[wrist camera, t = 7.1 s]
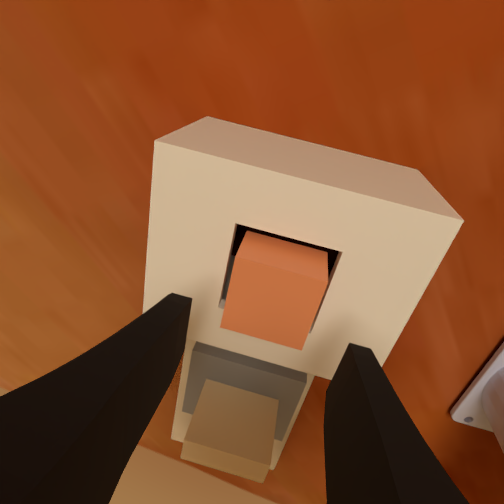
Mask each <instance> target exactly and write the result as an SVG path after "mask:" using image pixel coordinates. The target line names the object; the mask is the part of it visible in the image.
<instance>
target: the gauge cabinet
mask: <svg viewBox="0 0 504 504" xmlns="http://www.w3.org/2000/svg"><path fill="white" fill-rule="evenodd" d="M463 222H464V220H463V219H462V218H461V217H460V216H459V215H458V214H457V212H456V211H455V210H454V209H453V208H452V207H451V206H450V205H449V204H448V202H447V201H446V200H445V199H444V198H443V197H442V196H441V195H440V194H439V193H438V191H437V190H436V189H435V188H434V187H433V186H432V185H431V184H430V183H429V182H428V180H427V179H426V178H425V177H424V176H423V175H422V174H421V173H420V172H419V170H417V169H413V168H409V167H405V166H401V165H397V164H393V163H389V162H386V161H382V160H378V159H374V158H370V157H366V156H362V155H358V154H354V153H350V152H346V151H342V150H338V149H334V148H330V147H326V146H323V145H319V144H315V143H311V142H307V141H303V140H299V139H295V138H291V137H287V136H283V135H279V134H275V133H271V132H267V131H263V130H260V129H256V128H252V127H248V126H244V125H240V124H236V123H232V122H228V121H224V120H220V119H216V118H212V117H208V116H207V117H205V118H202V119H200V120H198V121H196V122H194V123H191V124H189V125H187V126H185V127H183V128H181V129H178V130H176V131H174V132H172V133H170V134H167V135H165V136H163V137H161V138H159V139H157V140H155V142H154V157H153V172H152V186H151V201H150V215H149V230H148V244H147V259H146V273H145V288H144V303H143V313H145V312H146V311H147V310H149V309H150V308H151V307H153V306H154V305H155V304H157V303H158V302H159V301H160V300H162V299H163V298H164V297H166V296H167V295H168V294H170V293H175V294H179V295H183V296H186V297H190V298H192V304H191V311H190V317H189V324H188V330H187V337H186V338H187V339H190V340H194V341H197V342H201V343H204V344H208V345H211V346H215V347H218V348H222V349H225V350H229V351H232V352H236V353H239V354H243V355H246V356H249V357H253V358H256V359H260V360H263V361H267V362H270V363H274V364H277V365H281V366H284V367H288V368H291V369H295V370H298V371H302V372H305V373H308V374H312V375H315V376H319V377H322V378H326V379H329V380H332V378H333V376H334V374H335V372H336V370H337V367H338V365H339V363H340V361H341V359H342V357H343V355H344V353H345V351H346V348H347V346H348V344H349V343H353V344H356V345H360V346H363V347H367V348H371V349H372V351H373V353H374V355H375V357H376V358H377V360H378V362H379V364H380V366H381V367H382V366H383V364H384V362H385V360H386V358H387V357H388V355H389V353H390V351H391V350H392V348H393V346H394V344H395V342H396V341H397V339H398V337H399V335H400V334H401V332H402V330H403V328H404V326H405V325H406V323H407V321H408V319H409V318H410V316H411V314H412V312H413V311H414V309H415V307H416V305H417V303H418V302H419V300H420V298H421V296H422V295H423V293H424V291H425V289H426V287H427V286H428V284H429V282H430V280H431V279H432V277H433V275H434V273H435V271H436V270H437V268H438V266H439V264H440V263H441V261H442V259H443V257H444V255H445V254H446V252H447V250H448V248H449V247H450V245H451V243H452V241H453V239H454V238H455V236H456V234H457V232H458V231H459V229H460V227H461V225H462V223H463ZM237 224H240V225H244V226H248V227H251V228H255V229H259V230H263V231H266V232H270V233H274V234H277V235H281V236H285V237H289V238H292V239H296V240H300V241H303V242H307V243H311V244H315V245H318V246H322V247H326V248H329V249H333V250H337V251H339V253H338V256H337V258H336V261H335V263H334V266H333V268H332V271H331V274H330V276H329V279H328V284H327V287H326V289H325V292H324V295H323V297H322V300H321V302H320V305H319V307H318V310H317V313H316V315H315V318H314V320H313V323H312V326H311V328H310V331H309V333H308V336H307V338H306V341H305V344H304V346H303V349H302V351H301V350H298V349H294V348H291V347H287V346H284V345H280V344H277V343H273V342H270V341H266V340H263V339H259V338H256V337H252V336H249V335H245V334H242V333H238V332H235V331H231V330H228V329H224V328H221V327H220V325H221V320H222V316H223V311H224V306H225V302H226V297H227V293H228V288H229V283H230V279H231V274H232V269H233V265H234V260H235V256H231V253H232V248H233V243H234V238H235V234H236V229H237Z"/></svg>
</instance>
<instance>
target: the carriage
mask: <svg viewBox="0 0 504 504" xmlns="http://www.w3.org/2000/svg"><path fill="white" fill-rule="evenodd" d="M306 384H307V373H305V372H302V371H298V370H295V369H291V368H288V367H284V366H281V365H277V364H274V363H270V362H267V361H263V360H260V359H256V358H253V357H249V356H246V355H243V354H239V353H236V352H232V351H229V350H225V349H222V348H218V347H215V346H211V345H208V344H204V343H201V342H197V341H196V343H195V345H194V347H193V350H192V355H191V360H190V366H189V372H188V378H187V384H186V390H185V396H184V401H183V407H182V412H185V413H189V414H192V415H193V416H192V419H191V421H190V424H189V427H188V430H187V432H186V435H185V438H184V441H183V447H182V452H181V457H180V458H181V459H184V460H187V461H191V462H194V463H197V464H200V465H204V466H207V467H210V468H213V469H217V470H220V471H223V472H227V473H230V474H233V475H236V476H240V477H243V478H246V479H249V480H253V481H256V482H259V483H262V484H263V482H264V480H265V478H266V475H267V473H268V470H269V468H270V465H271V457H272V450H273V442H274V439H276V440H279V441H282V440H283V438H284V436H285V433H286V431H287V428H288V426H289V424H290V421H291V419H292V417H293V414H294V412H295V410H296V407H297V405H298V403H299V400H300V398H301V395H302V393H303V391H304V388H305V386H306Z"/></svg>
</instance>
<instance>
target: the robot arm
mask: <svg viewBox="0 0 504 504" xmlns="http://www.w3.org/2000/svg"><path fill="white" fill-rule="evenodd" d="M191 304H192V298H190V297H186V296H183V295H179V294H175V293H170V294H168V295H167V296H166V297H164V298H163V299H162V300H160V301H159V302H158V303H157V304H155V305H154V306H153V307H151V308H150V309H149V310H147V311H146V312H145V313H143V314H142V315H141V316H139V317H138V318H137V319H135V320H134V321H132V322H131V323H129V324H128V325H126V326H125V327H124V328H122V329H121V330H119V331H118V332H116V333H115V334H113V335H112V336H110V337H109V338H107V339H106V340H104V341H103V342H101V343H99V344H98V345H96V346H95V347H93V348H91V349H90V350H88V351H87V352H85V353H83V354H82V355H80V356H78V357H77V358H75V359H73V360H71V361H70V362H68V363H66V364H64V365H62V366H61V367H59V368H57V369H55V370H53V371H51V372H49V373H47V374H46V375H44V376H42V377H40V378H38V379H36V380H34V381H32V382H30V383H28V384H26V385H23V386H21V387H19V388H17V389H15V390H13V391H11V392H9V393H7V394H5V395H3V396H0V504H109V502H110V500H111V497H112V495H113V493H114V491H115V488H116V486H117V484H118V482H119V479H120V477H121V475H122V473H123V471H124V468H125V467H126V465H127V463H128V461H129V458H130V457H131V455H132V452H133V451H134V449H135V448H136V446H137V444H138V442H139V440H140V438H141V437H142V435H143V433H144V431H145V429H146V427H147V426H148V424H149V422H150V420H151V418H152V417H153V415H154V413H155V411H156V409H157V407H158V406H159V404H160V402H161V400H162V398H163V396H164V395H165V393H166V391H167V389H168V387H169V385H170V383H171V381H172V379H173V377H174V374H175V372H176V369H177V367H178V365H179V362H180V360H181V357H182V355H183V352H184V349H185V343H186V337H187V330H188V324H189V317H190V311H191ZM450 414H451V417H452V419H453V420H454V421H456V422H460V423H463V424H466V425H470V426H473V427H477V428H480V429H484V430H487V431H491V432H494V434H495V436H496V438H497V440H498V442H499V445H500V447H501V449H502V451H503V453H504V342H503V343H502V345H501V346H500V347H499V348H498V350H497V351H496V352H495V354H494V355H493V356H492V358H491V359H490V360H489V361H488V363H487V364H486V365H485V367H484V368H483V369H482V371H481V372H480V373H479V374H478V376H477V377H476V378H475V380H474V381H473V382H472V383H471V385H470V386H469V387H468V389H467V390H466V391H465V393H464V394H463V395H462V396H461V398H460V399H459V400H458V402H457V403H456V404H455V406H454V407H453V408H452V409H451V411H450ZM324 449H325V471H326V493H327V504H469V503H468V501H467V500H466V499H465V497H464V496H463V495H462V493H461V492H460V491H459V489H458V488H457V487H456V485H455V484H454V483H453V481H452V480H451V478H450V477H449V476H448V474H447V473H446V471H445V470H444V468H443V467H442V466H441V464H440V463H439V461H438V460H437V458H436V457H435V455H434V454H433V452H432V451H431V449H430V448H429V446H428V445H427V443H426V442H425V440H424V439H423V437H422V435H421V434H420V432H419V431H418V429H417V428H416V426H415V424H414V423H413V421H412V419H411V418H410V416H409V414H408V413H407V411H406V410H405V408H404V406H403V405H402V403H401V401H400V399H399V398H398V396H397V394H396V392H395V391H394V389H393V387H392V385H391V384H390V382H389V380H388V378H387V376H386V375H385V373H384V371H383V369H382V367H381V366H380V364H379V362H378V360H377V358H376V357H375V355H374V353H373V351H372V349H371V348H367V347H363V346H360V345H356V344H353V343H349V344H348V346H347V348H346V351H345V353H344V355H343V357H342V359H341V361H340V363H339V365H338V367H337V370H336V372H335V374H334V376H333V378H332V380H331V382H330V384H329V386H328V389H327V391H326V401H325V414H324Z"/></svg>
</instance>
